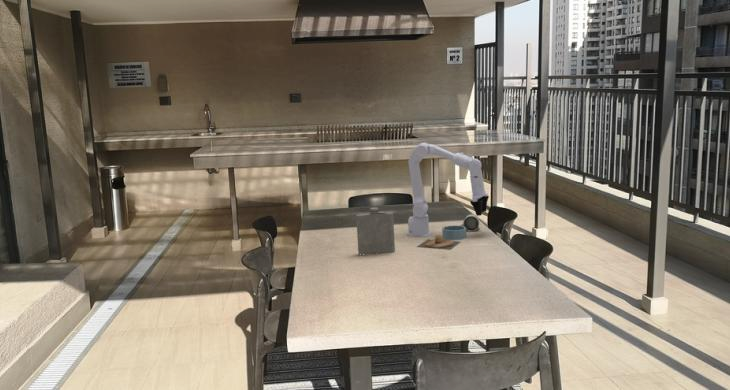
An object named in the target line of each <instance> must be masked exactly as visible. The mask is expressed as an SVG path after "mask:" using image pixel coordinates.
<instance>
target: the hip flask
mask: <svg viewBox="0 0 730 390" xmlns="http://www.w3.org/2000/svg"><path fill="white" fill-rule="evenodd" d="M369 210H370V212H369V213H359V214H356V215H355V218H356V232H357V233H356V234H357V235H356V237H357V251H358V254H361V255H360V256H364V255H363V254H371V255H377V254H384V253H385V254H391V253H395V252H396V250H395V249H396V244H395V226H394V225H395V223H394V222H395V221H394V212H392V211H391V212H390V211H387V212H386V211H379V207H370V209H369ZM376 253H377V254H376ZM358 254H357V255H358Z"/></svg>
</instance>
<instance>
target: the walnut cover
mask: <svg viewBox="0 0 730 390" xmlns="http://www.w3.org/2000/svg"><path fill="white" fill-rule="evenodd" d="M427 240H428V239H427ZM453 241H454V240H448V239H444V238H443V237H442V234H435V235H434V239H430V240H428V241H426V240H425V241H423V242H424V246H426V247H430V248H429V249H434V248H446V247H450V246H452V245H453Z"/></svg>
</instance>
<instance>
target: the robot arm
mask: <svg viewBox="0 0 730 390" xmlns="http://www.w3.org/2000/svg"><path fill="white" fill-rule="evenodd" d="M435 155H436V156H440V157H442V158H445V159H447V160H450V161H452V164H453V165H456V166H458V167H460V168H463V169H466V170H468V171H469V175H470V176H469V177H470V186H471V193H472V195H471V196H472V197H471V198H472V200H470V205H471V206H472V208H473V210H474V213H475V215H476V216H477V217H479V216H483V215H482V213H485V212H486V213H487V206H488V200H489V197H490V196H489V195H488V194H489V193H488V192H486V190H485V183H484V178H483V177H484V176H483V171H482V162H481V161H480V159H478V158H474V157H473V156H471V157H470V156H468V155H466V154H465V153H464V152H462V151H461V152H457V153H453V152H451V151H449V150H446V149H445V148H442V147H440V146H437V145H435V144H432V143H428V142H425V141H424V142H421V143H419V144H417V145H416V146H415V147H414V148H413V149H412V152H411V155H410V156H409V158H408V161H407V162H408V167H409V169H408V170H409V176H410V177H409V178H410V183H411V189H412V190H411V191H412V195H413V202H412V203H413V208H412V213H413V215H412V216H409V218H408V221H407V227H408V230H407V231H408V232H407V233H408V234H407V236H411V237H428V236H430V235H431V234H432V233H433V232H432V231H430V225H429V215H428V211H429V205H428V202H426V197H425V195H424V189H423V182H422V175H421V174H422V173H421V169H420V163H421V161H422V160H424V158H426V157H427V156H435Z"/></svg>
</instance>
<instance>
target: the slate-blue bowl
mask: <svg viewBox="0 0 730 390" xmlns="http://www.w3.org/2000/svg"><path fill="white" fill-rule="evenodd" d="M441 232H442V233H441V235H442V239H447V240H451V241H458V240H459V241H460V240H463V239H466V238H467V230H466V227H464V226H460V225H446V226H443V227H442V228H441Z"/></svg>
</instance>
